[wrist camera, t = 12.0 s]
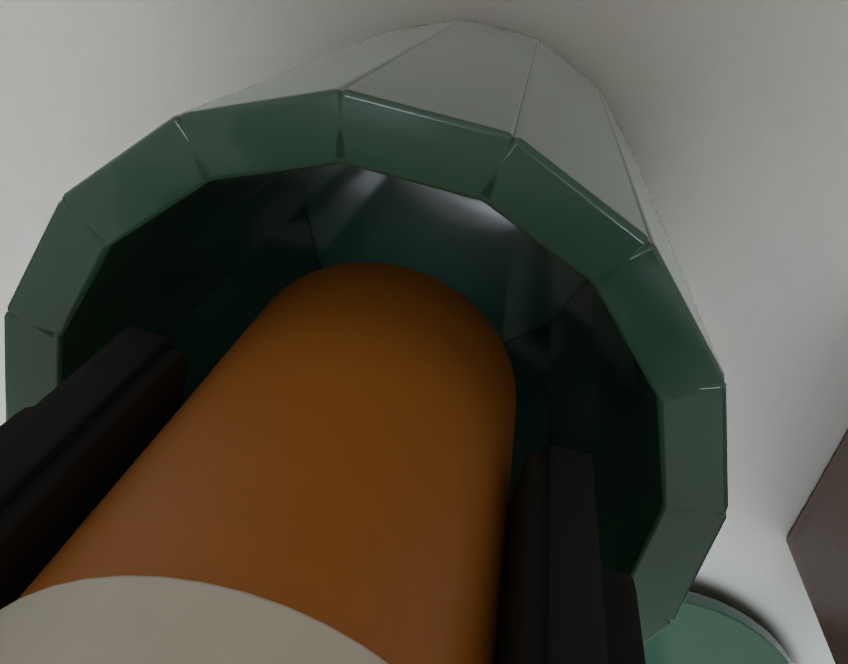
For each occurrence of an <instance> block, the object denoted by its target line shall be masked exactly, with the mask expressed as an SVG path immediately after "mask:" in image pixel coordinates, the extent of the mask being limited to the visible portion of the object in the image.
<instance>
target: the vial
mask: <svg viewBox="0 0 848 664" xmlns="http://www.w3.org/2000/svg"><path fill="white" fill-rule="evenodd" d="M516 403H517V394H516V381H515V376H514V371H513V367H512V364H511V361H510V358H509V355H508V353H507V350H506V348H505V346H504V344H503V342H502V340H501V339H500V337H499V335H498V333H497V332H496V330H495V329H494V328H493V326H492V325H491V323H490V322H489V321H488V319H487V318H486V317H485V316H484V315H483V314H482V313H481V312H480V310H479V309H478V308H477V307H476V306H475V305H474V304H473V303H471V302H470V301H469V300H468V299H467V298H465V297H464V296H463V295H462V294H461V293H459V292H458V291H456V290H455V289H453V288H451V287H450V286H448V285H447V284H445V283H444V282H442V281H440V280H438V279H436V278H433V277H431V276H429V275H427V274H425V273H422V272H419V271H416V270H413V269H410V268H407V267H403V266H398V265H393V264H388V263H378V262H352V263H344V264H339V265H333V266H329V267H326V268H323V269H320V270H317V271H314V272H312V273H309V274H307V275H305V276H303V277H301V278H299V279H297V280H296V281H294V282H293V283H291V284H290V285H288V286H287V287H285V288H284V289H283V290H282V291H281V292H280V293H278V294H277V295H276V296H275V297H274V298H273V299H272V300H271V301H270V302H269V303H268V305H267V306H266V307H265V308H264V309H263V311H262V312H261V313H260V314H259V315H258V316H257V318H256V319H255V320H254V321H253V322H252V324H251V325H250V326H249V327H248V328H247V329H246V331H245V332H244V333H243V334H242V335H241V336H240V338H239V339H238V340H237V341H236V342H235V344H234V345H233V346H232V347H231V348H230V349H229V351H228V352H227V353H226V354H225V355H224V357H223V358H222V359H221V360H220V361H219V362H218V364H217V365H216V366H215V367H214V368H213V370H212V371H211V372H210V373H209V374H208V375H207V377H206V378H205V379H204V380H203V381H202V382H201V384H200V385H199V386H198V387H197V388H196V390H195V391H194V392H193V393H192V394H191V395H190V397H189V398H188V399H187V400H186V401H185V403H184V404H183V405H182V406H181V407H180V408H179V410H178V411H177V412H176V413H175V414H174V415H173V417H172V418H171V419H170V420H169V421H168V423H167V424H166V425H165V426H164V427H163V428H162V430H161V431H160V432H159V433H158V434H157V436H156V437H155V438H154V439H153V440H152V441H151V443H150V444H149V445H148V446H147V447H146V448H145V450H144V451H143V452H142V453H141V454H140V456H139V457H138V458H137V459H136V460H135V461H134V463H133V464H132V465H131V466H130V467H129V469H128V470H127V471H126V472H125V473H124V474H123V476H122V477H121V478H120V479H119V480H118V481H117V483H116V484H115V485H114V486H113V487H112V489H111V490H110V491H109V492H108V493H107V494H106V496H105V497H104V498H103V499H102V500H101V502H100V503H99V504H98V505H97V506H96V507H95V509H94V510H93V511H92V512H91V513H90V514H89V516H88V517H87V518H86V519H85V520H84V522H83V523H82V524H81V525H80V526H79V527H78V529H77V530H76V531H75V532H74V533H73V535H72V536H71V537H70V538H69V539H68V540H67V542H66V543H65V544H64V545H63V546H62V548H61V549H60V550H59V551H58V552H57V553H56V555H55V556H54V557H53V558H52V559H51V560H50V562H49V563H48V564H47V565H46V566H45V568H44V569H43V570H42V571H41V572H40V573H39V575H38V576H37V577H36V578H35V579H34V581H33V582H32V583H31V584H30V585H29V586H28V588H27V589H26V590H25V591H24V592H23V593H22V595H21V596H20V597H19V598H18V599H17V600H16V601H15V602H13V603H11V604H9V605H8V606H6V607H4V608H2V609H1V610H0V664H494V661H495V649H496V637H497V625H498V614H499V602H500V590H501V578H502V567H503V555H504V543H505V532H506V520H507V508H508V496H509V485H510V473H511V461H512V449H513V438H514V426H515V414H516Z"/></svg>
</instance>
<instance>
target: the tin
mask: <svg viewBox="0 0 848 664" xmlns="http://www.w3.org/2000/svg"><path fill="white" fill-rule="evenodd" d="M62 199H63V200H61V201H60V202H59V203H58V206H57V208H56V210H55V212H54V214H53V216H52V218H51V220H50V222H49V224H48V226H47V228H46V230H45V232H44V234H43V236H42V238H41V240H40V242H39V244H38V246H37V248H36V250H35V252H34V254H33V256H32V259H31V261H30V263H29V265H28V267H27V269H26V271H25V273H24V275H23V277H22V279H21V281H20V283H19V285H18V287H17V289H16V291H15V293H14V295H13V297H12V299H11V301H10V303H9V306H8V312H7V313H6V315H5V377H6V421H7V420H9V419H10V418H11V417H12V416H13V415H15V414H16V413H17V412H19V411H21V410H22V409H24V408H26V407H31V406H35V405H36V404H37V403H38V402H39V401H41V400H42V399H43V398H44V397H45V396H46V395H48V394H49V393H50V392H51V391H52V390H54V389H55V388H56V387H57V386H58V385H60V384H61V383H62V382H63V381H64V380H65V379H67V378H68V377H69V376H70V375H71V374H73V373H74V372H75V371H76V370H77V369H78V368H80V367H81V366H82V365H83V364H84V363H86V362H87V361H88V360H89V359H90V358H91V357H93V356H94V355H95V354H96V353H97V352H99V351H100V350H101V349H102V348H103V347H105V346H106V345H107V344H108V343H109V342H110V341H112V340H113V339H114V338H115V337H116V336H118V335H119V334H120V333H121V332H122V331H123V330H125V329H127V328H129V327H130V328H136V329H139V330H143V331H147V332H150V333H154V334H157V335H161V336H164V337H168V338H172V339H173V340H174V341H175V345H176V351H177V352H180V353H184V354H185V355H186V358H187V369H186V379H185V388H184V397H183V404H184V403H185V401H186V400H187V399H188V398H189V397H190V395H191V394H192V393H193V392H194V391H195V390H196V388H197V387H198V386H199V385H200V384H201V382H202V381H203V380H204V379H205V378H206V377H207V375H208V374H209V373H210V372H211V371H212V370H213V368H214V367H215V366H216V365H217V364H218V362H219V361H220V360H221V359H222V358H223V357H224V355H225V354H226V353H227V352H228V351H229V349H230V348H231V347H232V346H233V345H234V344H235V342H236V341H237V340H238V339H239V338H240V336H241V335H242V334H243V333H244V332H245V331H246V329H247V328H248V327H249V326H250V325H251V324H252V322H253V321H254V320H255V319H256V318H257V316H258V315H259V314H260V313H261V312H262V311H263V309H264V308H265V307H266V306H267V305H268V303H269V302H270V301H271V300H272V299H273V298H274V297H275V296H276V295H277V294H278V293H280V292H281V291H282V290H283V289H284V288H285V287H287V286H288V285H290V284H291V283H293V282H294V281H296V280H297V279H299V278H301V277H303V276H305V275H307V274H309V273H312V272H314V271H317V270H320V269H323V268H326V267H329V266H333V265H339V264H344V263H352V262H378V263H388V264H393V265H398V266H403V267H407V268H410V269H413V270H416V271H419V272H422V273H425V274H427V275H429V276H431V277H433V278H436V279H438V280H440V281H442V282H444V283H445V284H447V285H448V286H450V287H451V288H453V289H455V290H456V291H458V292H459V293H461V294H462V295H463V296H464V297H465V298H467V299H468V300H469V301H470V302H471V303H473V304H474V305H475V306H476V307H477V308H478V309H479V310H480V312H481V313H482V314H483V315H484V316H485V317H486V318H487V319H488V321H489V322H490V323H491V325H492V326H493V328H494V329H495V330H496V332H497V333H498V335H499V337H500V339H501V340H502V342H503V344H504V346H505V348H506V350H507V353H508V355H509V358H510V361H511V364H512V367H513V371H514V376H515V381H516V394H517V403H516V414H515V426H514V438H513V449H512V461H511V473H510V485H509V496H508V507H509V504H510V501H511V498H512V495H513V492H514V489H515V487H516V484H517V481H518V478H519V475H520V472H521V469H522V467H523V464H524V461H525V458H526V456H527V454H528V452H529V451H530V450H531V451H535V452H538V453H542V454H543V452H544V450H545V448H546V446H547V445H548V444H552V445H556V446H559V447H563V448H566V449H570V450H573V451H577V452H581V453H584V454H588V455H590V456H592V460H593V470H594V483H595V497H596V510H597V523H598V536H599V549H600V562H601V567H603V568H607V569H610V570H614V571H617V572H621V573H624V574H628V575H630V576H631V577H632V578H633V580H634V583H635V587H636V592H637V600H638V607H639V615H640V623H641V630H642V638H643V645H644V644H645V643H646V642H648V641H649V640H650V639H652V638H653V637H654V636H656V635H657V634H658V633H659V632H661V631H662V630H663V629H665V628H666V627H667V626H669V624H670V622H671V621H673V620H674V618H675V616H676V614H677V612H678V610H679V608H680V606H681V605H682V603H683V601H684V599H685V597H686V595H687V593H688V591H689V589H690V587H691V585H692V583H693V581H694V579H695V577H696V575H697V573H698V571H699V569H700V568H701V566H702V564H703V562H704V560H705V558H706V556H707V554H708V552H709V550H710V548H711V546H712V544H713V542H714V540H715V538H716V536H717V534H718V532H719V531H720V529H721V527H722V525H723V523H724V521H725V519H726V510H727V507H728V486H727V410H726V383H725V381H724V373H723V370H722V368H721V366H720V363H719V361H718V358H717V356H716V354H715V351H714V349H713V346H712V344H711V341H710V339H709V337H708V334H707V332H706V329H705V327H704V324H703V322H702V320H701V317H700V315H699V312H698V310H697V307H696V305H695V303H694V300H693V298H692V295H691V293H690V290H689V288H688V286H687V283H686V281H685V278H684V276H683V274H682V271H681V269H680V266H679V264H678V261H677V259H676V257H675V254H674V252H673V249H672V247H671V244H670V242H669V240H668V237H667V235H666V232H665V230H664V227H663V225H662V223H661V220H660V218H659V215H658V213H657V210H656V208H655V206H654V203H653V201H652V198H651V196H650V194H649V191H648V189H647V186H646V184H645V181H644V179H643V177H642V174H641V172H640V169H639V167H638V164H637V162H636V160H635V157H634V155H633V153H632V151H631V149H630V147H629V145H628V143H627V141H626V139H625V137H624V135H623V133H622V131H621V129H620V127H619V126H618V123H617V121H616V119H615V117H614V116H613V114H612V112H611V110H610V108H609V106H608V104H607V102H606V100H605V98H604V96H603V95H602V93H601V91H600V90H599V89H598V88H597V86H596V85H594V84H593V83H592V82H591V81H589V80H588V79H587V78H586V77H585V76H583V75H582V74H581V73H580V72H579V71H578V70H577V69H576V68H575V67H574V66H573V65H572V64H570V63H569V62H568V61H567V60H565V59H564V58H562V57H561V56H560V55H558V54H557V53H555V52H554V51H552V50H551V49H549V48H548V47H547V46H546V45H544V44H543V43H542V42H540V41H537V40H536V39H535V38H531V37H527V36H524V35H521V34H518V33H515V32H512V31H509V30H506V29H503V28H499V27H494V26H488V25H483V24H478V23H473V22H470V21H466V20H462V21H460V20H455V21H449V22H443V23H437V24H426V25H422V26H418V27H414V28H408V29H402V30H396V31H390V32H386V33H384V34H381V35H379V36H376V37H374V38H371V39H369V40H366V41H364V42H361V43H358V44H356V45H353V46H351V47H348V48H346V49H343V50H341V51H338V52H336V53H333V54H331V55H328V56H325V57H323V58H320V59H318V60H315V61H313V62H310V63H308V64H305V65H303V66H300V67H298V68H295V69H292V70H290V71H287V72H285V73H282V74H280V75H277V76H275V77H272V78H270V79H267V80H265V81H262V82H259V83H257V84H254V85H252V86H249V87H247V88H244V89H242V90H239V91H237V92H234V93H231V94H229V95H226V96H224V97H221V98H219V99H216V100H214V101H211V102H209V103H206V104H204V105H201V106H198V107H196V108H193V109H191V110H188V111H186V112H183V113H181V114H178V115H176V116H173V117H172V118H170V119H169V120H168V121H166V122H165V123H163V124H162V125H161V126H159V127H158V128H156V129H155V130H154V131H152V132H151V133H149V134H148V135H147V136H145V137H144V138H142V139H141V140H140V141H138V142H137V143H135V144H134V145H132V146H131V147H130V148H128V149H127V150H125V151H124V152H123V153H121V154H120V155H118V156H117V157H116V158H114V159H113V160H111V161H110V162H109V163H107V164H106V165H104V166H103V167H102V168H100V169H99V170H97V171H96V172H95V173H93V174H92V175H90V176H89V177H88V178H86V179H85V180H83V181H82V182H80V183H79V184H78V185H76V186H75V187H73V188H72V189H71V190H69V191H68V192H66V193H65V194H64V196H63V198H62ZM507 509H508V508H507Z"/></svg>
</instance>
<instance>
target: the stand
mask: <svg viewBox="0 0 848 664" xmlns="http://www.w3.org/2000/svg"><path fill="white" fill-rule="evenodd" d="M787 544H788V546H789V549H790V551H791V554H792V556H793V559H794V561H795V564H796V566H797V569H798V571H799V574H800V576H801V579H802V581H803V584H804V586H805V589H806V591H807V594H808V596H809V599H810V601H811V604H812V606H813V609H814V611H815V613H816V616H817V618H818V621H819V623H820V626H821V628H822V631H823V633H824V636H825V638H826V641H827V643H828V646H829V648H830V651H831V653H832V656H833V658H834V661H835V663H836V664H848V432H847V434H846V436H845V437H844V439H843V441H842V443H841V444H840V446H839V448H838V450H837V451H836V453H835V455H834V457H833V459H832V460H831V462H830V464H829V466H828V467H827V469H826V471H825V473H824V474H823V476H822V478H821V480H820V481H819V483H818V485H817V487H816V489H815V490H814V492H813V494H812V496H811V497H810V499H809V501H808V503H807V504H806V506H805V508H804V510H803V511H802V513H801V515H800V517H799V519H798V520H797V522H796V524H795V526H794V527H793V529H792V531H791V533H790V534H789V536H788V538H787Z"/></svg>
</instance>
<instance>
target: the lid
mask: <svg viewBox="0 0 848 664" xmlns="http://www.w3.org/2000/svg"><path fill="white" fill-rule="evenodd" d="M643 646H644V653H645V661H646V664H793V663H792V661H791V659H790V658H789V656H788V655H787V653H786V652H785V651H784V649H783V648H782V646H781V645H780V644H779V643H778V642H777V641H776V640H775V639H774V638H773V636H772V635H771V634H770V633H769V632H768V631H766V630H765V629H764V628H763V627H762V626H760V625H759V624H758V623H757V622H755V621H754V620H753V619H751V618H750V617H748V616H746V615H745V614H743V613H742V612H740V611H738V610H737V609H735V608H733V607H731V606H729V605H726V604H724V603H722V602H720V601H718V600H715V599H713V598H710V597H707V596H704V595H701V594H698V593H695V592H690V591H688V593H687V595H686V597H685V599H684V601H683V603H682V605H681V606H680V608H679V610H678V612H677V614H676V616H675V618H674V620H673V621H671V622H670V624H669V626H667V627H666V628H665V629H663V630H662V631H661V632H659V633H658V634H657V635H656V636H654V637H653V638H652V639H650V640H649V641H648V642H646V643H645V644H644V645H643Z"/></svg>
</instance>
